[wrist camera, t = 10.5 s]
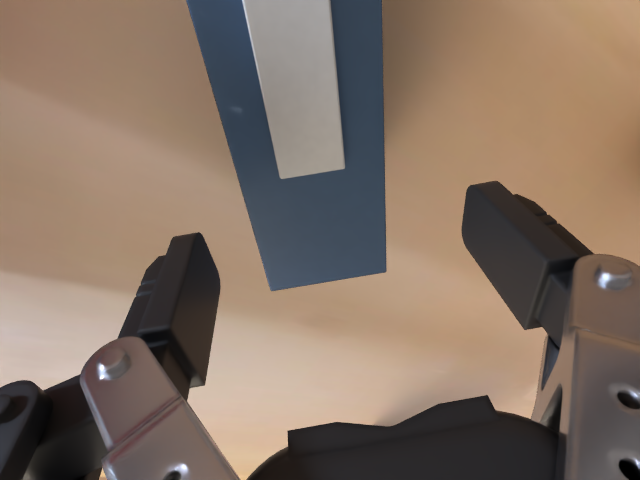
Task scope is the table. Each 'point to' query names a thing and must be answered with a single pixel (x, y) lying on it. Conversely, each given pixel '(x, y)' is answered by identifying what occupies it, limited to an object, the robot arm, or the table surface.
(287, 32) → the tissue box
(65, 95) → the table surface
